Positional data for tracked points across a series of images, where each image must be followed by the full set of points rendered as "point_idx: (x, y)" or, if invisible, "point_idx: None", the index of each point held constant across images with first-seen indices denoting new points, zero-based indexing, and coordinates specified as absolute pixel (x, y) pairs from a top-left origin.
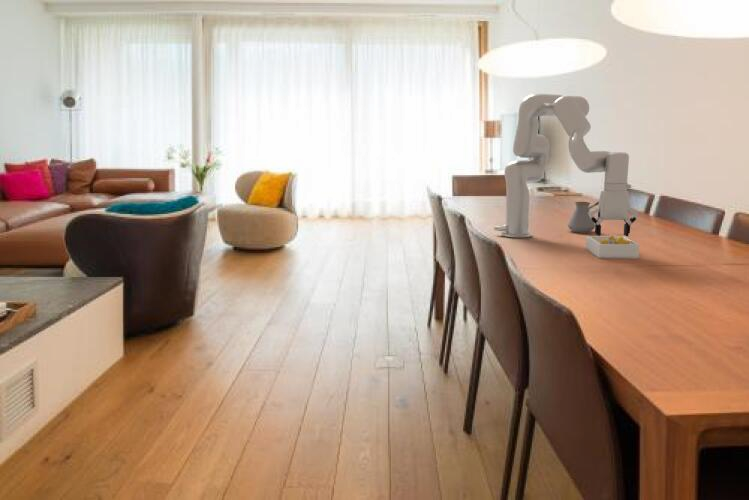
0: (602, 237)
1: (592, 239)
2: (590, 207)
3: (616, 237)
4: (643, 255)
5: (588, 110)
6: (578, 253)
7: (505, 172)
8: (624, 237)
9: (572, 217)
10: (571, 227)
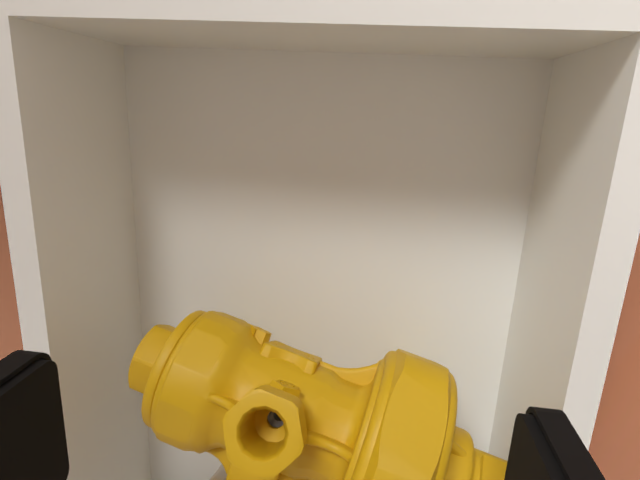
0: (254, 28)
1: (27, 334)
2: None
3: (518, 34)
4: (633, 411)
5: None
6: (7, 277)
7: None
8: (621, 172)
9: None
10: None
